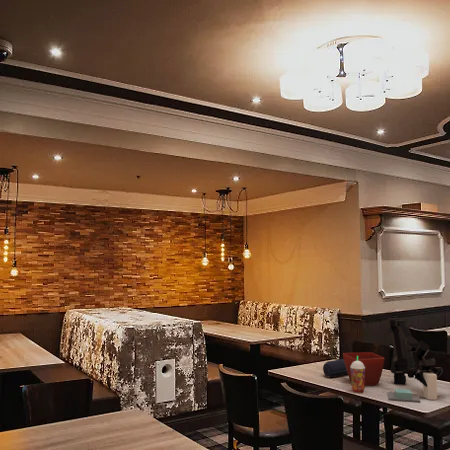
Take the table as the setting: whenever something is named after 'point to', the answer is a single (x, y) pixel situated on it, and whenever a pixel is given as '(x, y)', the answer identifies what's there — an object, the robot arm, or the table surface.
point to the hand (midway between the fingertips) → (431, 386)
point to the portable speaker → (335, 368)
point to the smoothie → (357, 376)
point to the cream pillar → (430, 386)
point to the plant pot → (366, 366)
